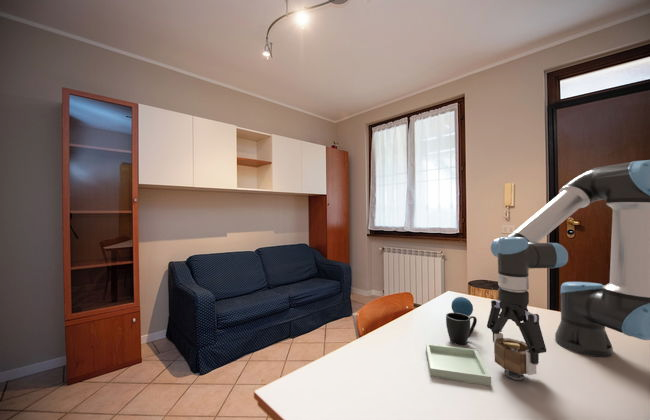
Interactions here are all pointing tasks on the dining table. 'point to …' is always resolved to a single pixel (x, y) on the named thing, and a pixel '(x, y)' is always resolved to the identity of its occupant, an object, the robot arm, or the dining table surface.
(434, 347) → the tray
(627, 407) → the dining table surface
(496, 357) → the ring
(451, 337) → the mug
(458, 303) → the light bulb
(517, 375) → the door handle
